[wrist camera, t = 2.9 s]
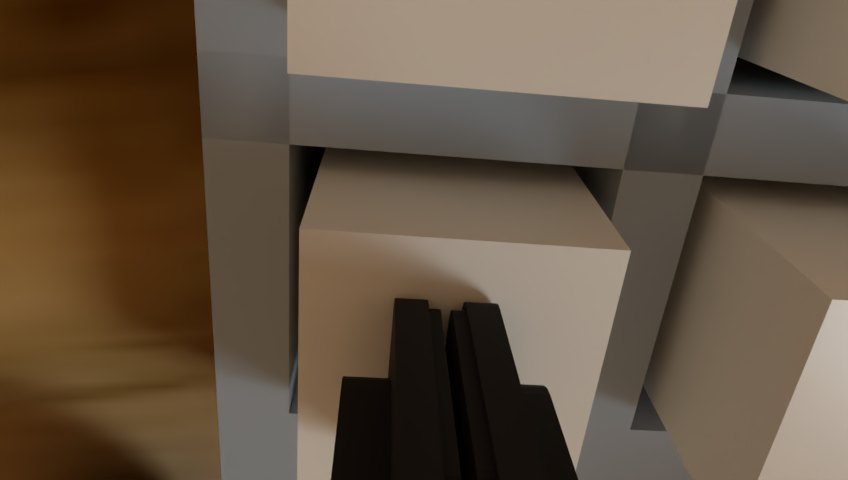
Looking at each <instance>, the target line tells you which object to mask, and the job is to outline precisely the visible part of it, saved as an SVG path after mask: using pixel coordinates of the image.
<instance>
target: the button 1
mask: <svg viewBox="0 0 848 480" xmlns="http://www.w3.org/2000/svg"><path fill="white" fill-rule="evenodd" d="M737 1H738V0H287V73H288V74H300V75H312V76H324V77H336V78H348V79H360V80H373V81H385V82H397V83H409V84H421V85H433V86H445V87H457V88H470V89H482V90H494V91H506V92H518V93H530V94H542V95H555V96H567V97H579V98H591V99H603V100H615V101H627V102H640V103H652V104H664V105H676V106H688V107H700V108H708V105H709V102H710V98H711V95H712V91H713V87H714V84H715V80H716V77H717V73H718V69H719V66H720V62H721V59H722V55H723V51H724V48H725V44H726V41H727V37H728V34H729V30H730V26H731V23H732V19H733V16H734V12H735V8H736V5H737Z"/></svg>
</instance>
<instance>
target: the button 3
mask: <svg viewBox="0 0 848 480" xmlns="http://www.w3.org/2000/svg"><path fill="white" fill-rule="evenodd" d="M738 57H739V58H742V59H744V60H747V61H749V62H752V63H754V64H757V65H759V66H762V67H764V68H767V69H769V70H772V71H774V72H776V73H779V74H781V75H784V76H786V77H789V78H791V79H794V80H796V81H799V82H801V83H804V84H806V85H809V86H811V87H814V88H816V89H819V90H821V91H824V92H826V93H828V94H831V95H833V96H836V97H838V98H841V99H843V100H846V101H848V0H754V2H753V5H752V8H751V12H750V15H749V19H748V22H747V26H746V29H745V33H744V36H743V40H742V43H741V47H740V50H739V54H738Z"/></svg>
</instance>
